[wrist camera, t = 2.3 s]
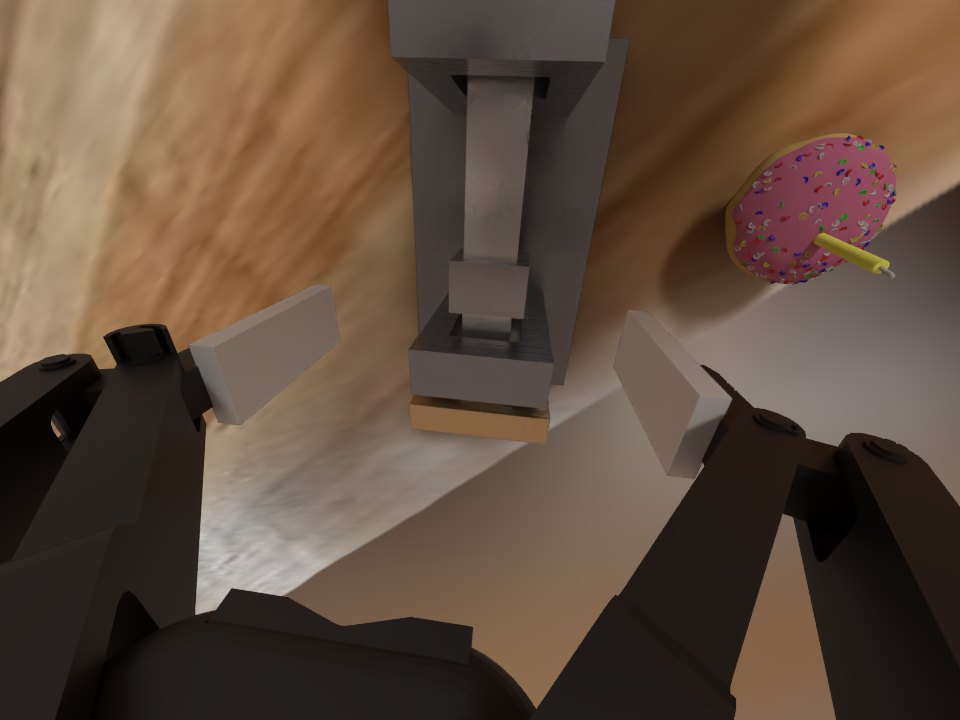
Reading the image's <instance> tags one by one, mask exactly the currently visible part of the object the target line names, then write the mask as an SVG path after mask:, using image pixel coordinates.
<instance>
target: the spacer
mask: <svg viewBox="0 0 960 720" xmlns="http://www.w3.org/2000/svg"><path fill="white" fill-rule="evenodd" d="M410 419H411V429H419V430H428V431H436V432H445V433H453V434H462V435H470V436H479V437H487V438H496V439H504V440H513V441H521V442H530V443H538V444H546V439H547V434H548V428H549V423H550V415H549V404H548V401H547V407H546V409H541V408H532V407H523V406H514V405H505V404H496V403H486V402H477V401H468V400H459V399H450V398H440V397H431V396H422V395H414V397H413V399H412V401H411V402H410Z"/></svg>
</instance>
